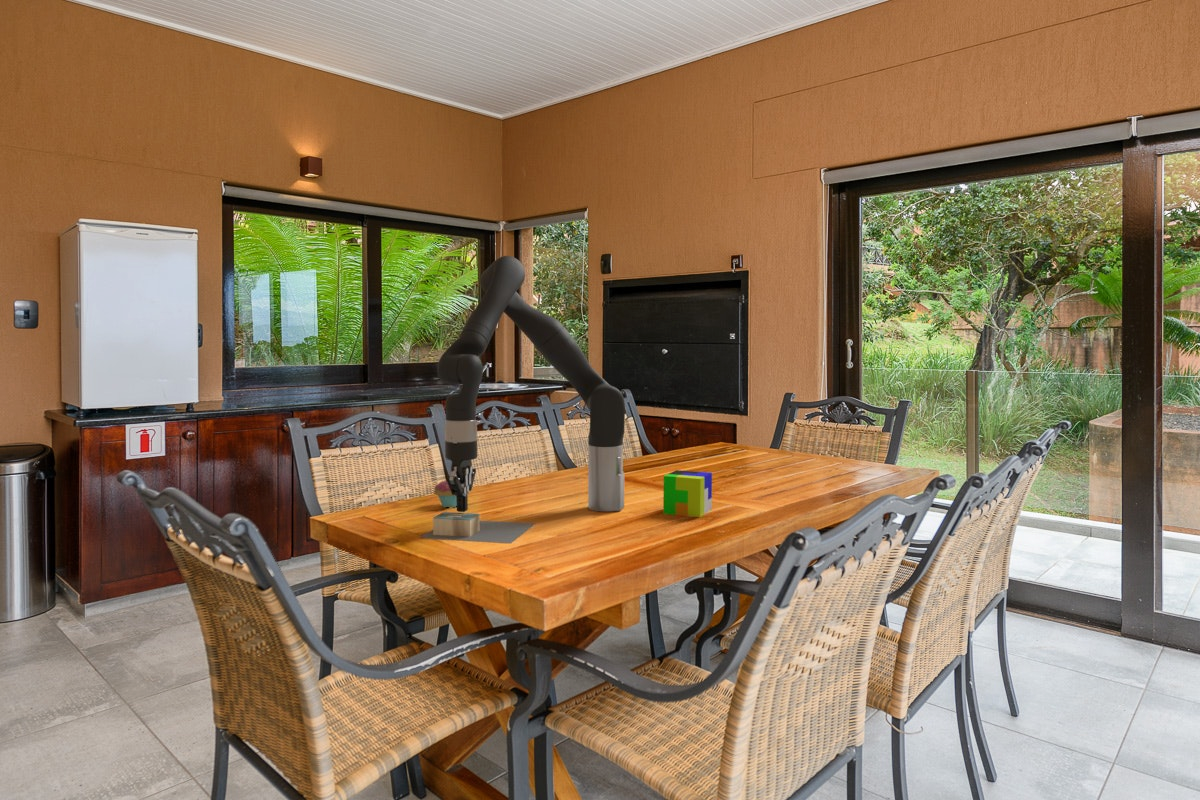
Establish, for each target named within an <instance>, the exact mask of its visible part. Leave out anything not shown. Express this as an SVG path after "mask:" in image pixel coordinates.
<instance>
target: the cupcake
mask: <svg viewBox="0 0 1200 800" xmlns="http://www.w3.org/2000/svg"><path fill="white" fill-rule="evenodd" d="M433 493H434V494H435V495H437V497H438V498H439V501H440V503H441V506H443V508H445V507H455V508H457V507H456V506H457V496H455V495H452V493H451V490H450V488H449V485H448V483H447V480H443V481H441V482H439V483H438V484H436V486H435V487H434V491H433Z"/></svg>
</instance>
